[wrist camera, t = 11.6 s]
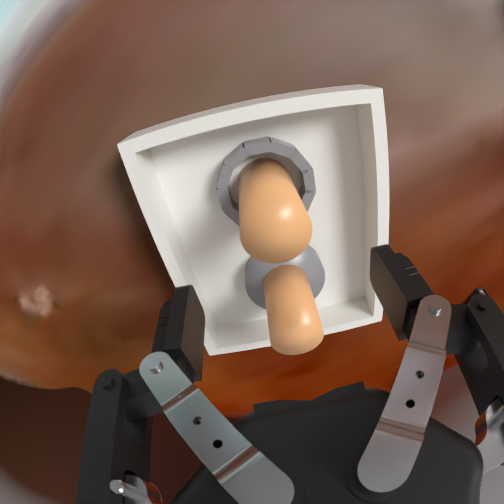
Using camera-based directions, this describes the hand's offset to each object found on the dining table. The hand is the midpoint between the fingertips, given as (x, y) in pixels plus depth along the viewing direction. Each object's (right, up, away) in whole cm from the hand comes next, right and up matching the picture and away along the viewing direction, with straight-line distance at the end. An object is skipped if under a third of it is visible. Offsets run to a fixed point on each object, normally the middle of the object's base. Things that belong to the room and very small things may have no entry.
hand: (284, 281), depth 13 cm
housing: (+1, +4, +13) cm, 14 cm away
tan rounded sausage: (0, +7, +10) cm, 12 cm away
